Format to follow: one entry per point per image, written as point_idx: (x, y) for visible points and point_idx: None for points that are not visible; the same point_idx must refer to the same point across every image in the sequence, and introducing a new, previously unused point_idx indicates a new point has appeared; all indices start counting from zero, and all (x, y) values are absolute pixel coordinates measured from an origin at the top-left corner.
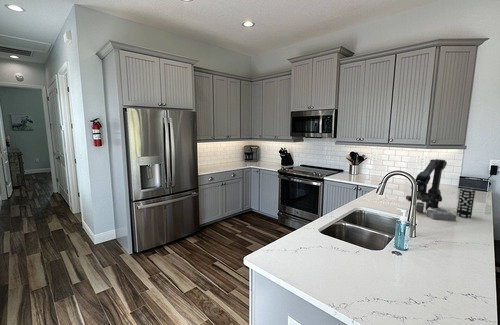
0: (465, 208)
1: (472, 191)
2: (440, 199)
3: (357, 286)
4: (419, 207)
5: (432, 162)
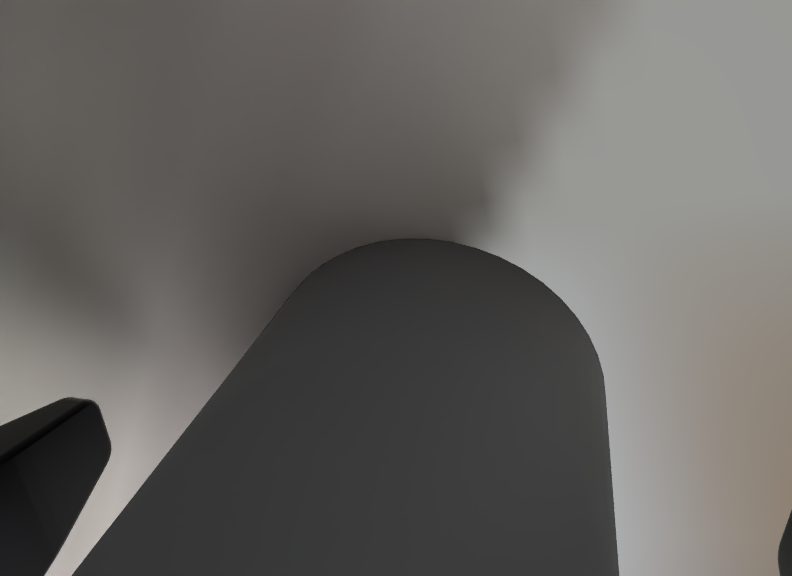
0: None
1: None
2: None
3: None
4: (482, 508)
5: None
